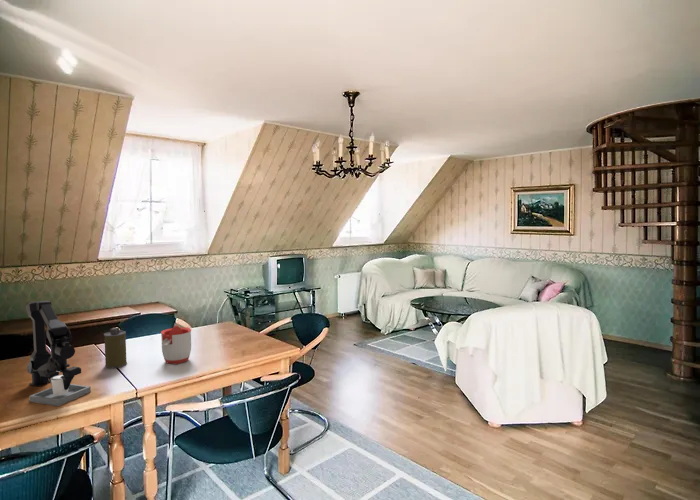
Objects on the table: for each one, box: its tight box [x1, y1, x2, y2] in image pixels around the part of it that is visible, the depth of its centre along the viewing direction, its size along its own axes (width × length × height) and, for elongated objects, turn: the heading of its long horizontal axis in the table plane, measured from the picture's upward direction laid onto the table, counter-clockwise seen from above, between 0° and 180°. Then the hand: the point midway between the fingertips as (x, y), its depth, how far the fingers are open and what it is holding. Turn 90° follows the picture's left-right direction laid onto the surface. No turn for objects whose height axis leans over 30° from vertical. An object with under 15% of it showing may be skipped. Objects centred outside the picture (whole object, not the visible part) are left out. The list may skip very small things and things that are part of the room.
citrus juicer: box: [160, 325, 192, 365], centre depth 240 cm, size 16×17×20 cm
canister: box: [103, 327, 128, 369], centre depth 235 cm, size 11×10×20 cm
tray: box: [28, 383, 92, 407], centre depth 193 cm, size 16×16×2 cm
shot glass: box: [50, 374, 69, 395], centre depth 193 cm, size 7×7×7 cm
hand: (60, 389), depth 193 cm, fingers closed on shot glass, 6 cm apart
